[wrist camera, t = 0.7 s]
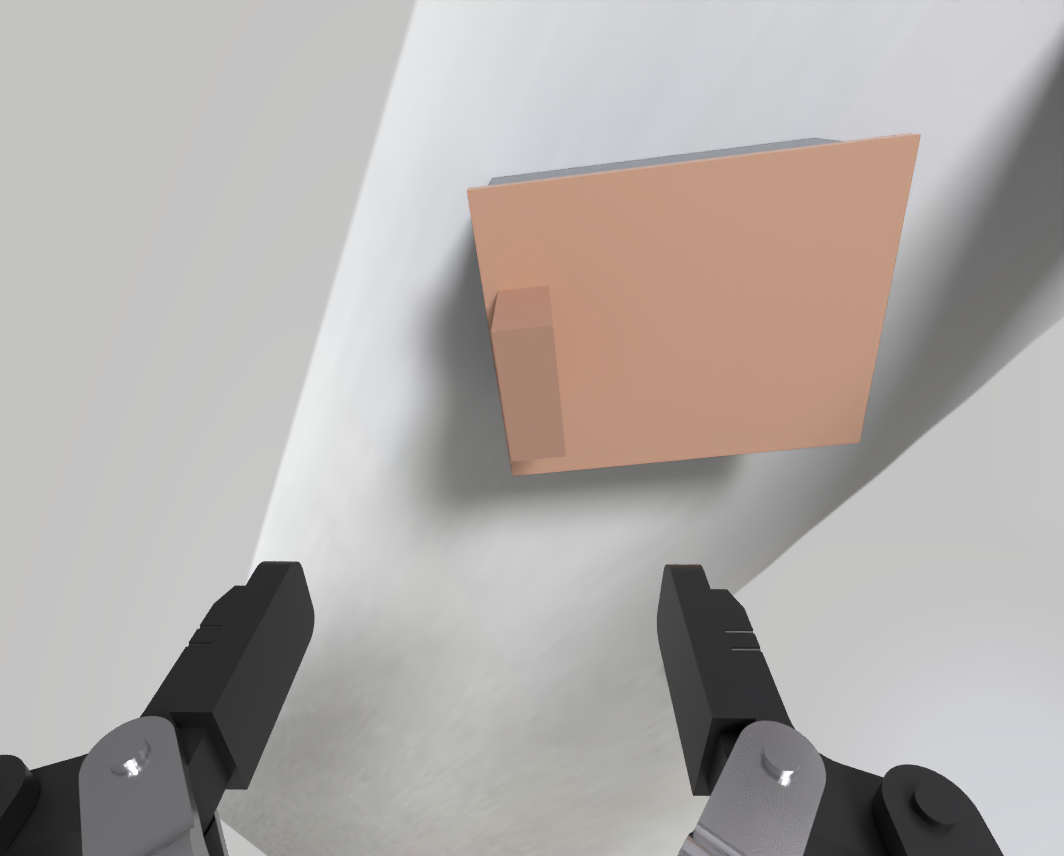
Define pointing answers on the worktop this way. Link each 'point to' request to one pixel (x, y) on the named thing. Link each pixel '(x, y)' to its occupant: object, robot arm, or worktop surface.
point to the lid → (691, 303)
